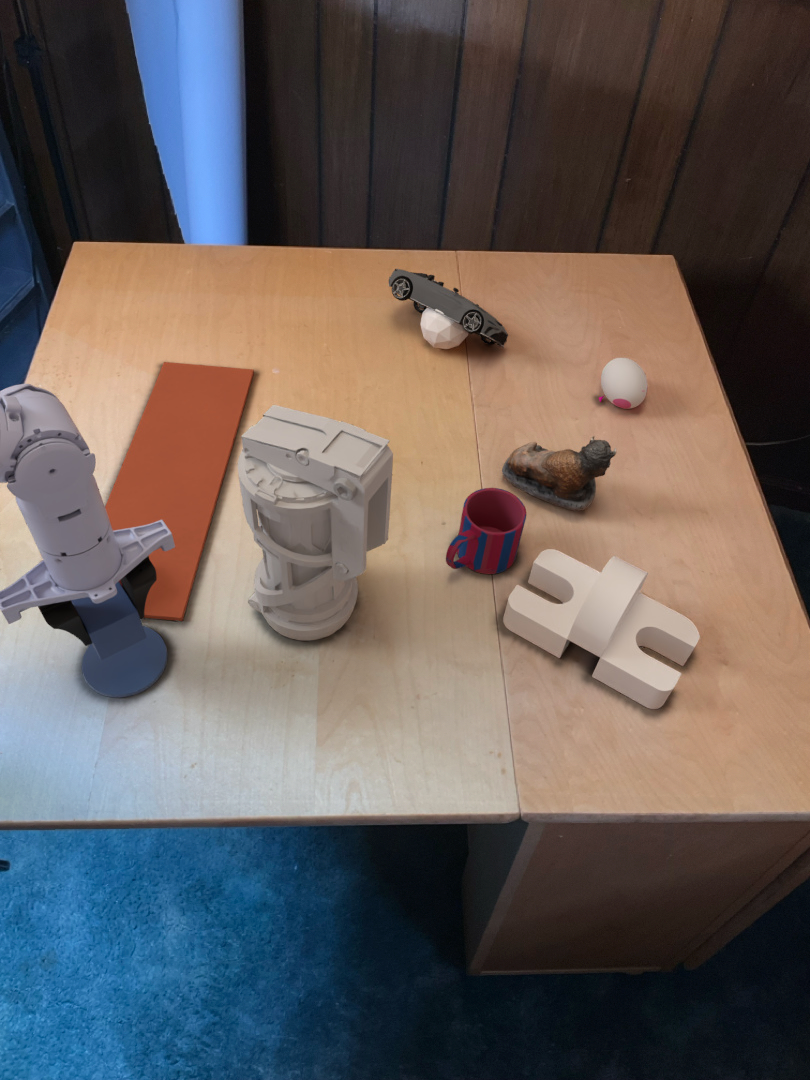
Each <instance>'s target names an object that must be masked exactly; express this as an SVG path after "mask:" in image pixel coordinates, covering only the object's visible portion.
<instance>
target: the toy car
mask: <svg viewBox="0 0 810 1080" xmlns="http://www.w3.org/2000/svg"><path fill="white" fill-rule="evenodd" d="M435 277H436V276H435V275H434V274H427V273H423V272H412V271H408V270H405V269H400V268H394V270H393V271H392V273H391V275H390V276H389V277H388V287H390V288H391V294H392V296H393V297H394V298H395V299H396V300H398V301H401V302H404V301H408V300H410V301H412V302H413V304H412V305H413V307H414V309H415V311H416V312H418V313H420V314H421V319H420V323H419V325H420V329H421V333H422V335H423V339H424V340H425V341H427V343H429V344H430V346H431V347H433V348H435V349H441V350H442V349H443V350H449V349H453V348H456V347H459V346H460V345H461V344H462V342H464V340H466V338H467V337H468V336H469V334H470V335H476V336H480V340H481V342H482V343H484V344H485V345H487V346H494V345H497V346H499V347H500V348H505V344H506V343H507V342H508V341H507V340H508V337H509V334H508V332H507V330H506V328H505V326H503V324H502V323H501V322H500V321H499V320H498V319H497V318H496V317H494V316H493V315H492V314H491V313H489V312H488V311H486V310H485V309H484V308H482V307H481V306H480V305H479V304H478V303H474V302H473V301H471V300H469V299H468V298H466V297H465V296H463V295H461V294H460V293H459V292H460V290H459V288H456V287H453V288H452V289H449V288H447V287H445V286H444V285H445V282H444V281H437V280H435Z"/></svg>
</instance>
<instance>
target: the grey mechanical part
mask: <svg viewBox="0 0 810 1080" xmlns="http://www.w3.org/2000/svg"><path fill="white" fill-rule="evenodd" d="M240 437H241V446H242V449H241V452H240V454H239V456H238V460H237V474H238V475H237V476H238V481H239V488H240V496H241V499H242V500H241V501H242V507H243V508H242V509H243V514H244V517H245V520H246V522H247V524H248V527H249V528H250V530H251V532H252V534H253V542H255V543H256V544H257V545H258V547H260V548H261V549H262V559H261V560H260V561H259V563H258V564H257V567H256V570H255V573H254V577H253V578H254V579H253V584H254V592H253V593H252V595H251V596H250V597H249V598H248V599H247V603H248V605H249V606H250V607H251V608H252V609H253V610H255V611H257V612H259V613H261V614H262V616H263V618H264V620H265V621H266V622H267V623H268V625H269V626H270V627H271V628H272V629H273V630H274V631H275V632H277V633H278V634H280V635H281V636H284V637H286V638H289V639H290V640H291V639H292V640H297V641H307V642H309V641H317V640H320V639H323V638H326V637H330V636H331V635H333V634H334V633H336V632H337V631H339V630H340V629H341V628H342V627H344V625H345V624H347V622H348V621H349V620H350V617H351V615H352V614H353V612H354V609H355V606H356V603H357V598H358V593H359V592H358V591H359V585H358V579H357V577H358V576H360V575H363V574H364V572H365V571H366V570H367V554H368V552H370V551H371V550H372V551H373V550H374V549H376V548H379V547H381V546H383V545H386V543H387V542H388V540H389V529H390V515H391V500H392V499H391V498H392V483H393V463H394V452H393V451H392V450H391V448H390V446H389V445H388V444H389V443H390V439H387V438H386V437H385V438H384V437H382V436H379V435H376V434H374V433H372V432H369V431H367V430H366V429H365V428H361V427H359V426H356V425H354V424H351V423H348V422H345V421H343V420H341V421H339V420H336V419H334V418H331V417H327V416H323V415H318V414H314V413H310V412H305V411H302V410H297V409H294V408H289V407H285V406H282V405H277V404H272V405H271V406H270V407H269V408H268V410H266V411H265V412H264V413H263V414H262V418H260V419H259V421H258V422H256V423H255V424H254V425H251V426H250V427H249V428H248V429H246V431H245V432H244V433H243V434H242V435H241V436H240Z"/></svg>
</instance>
